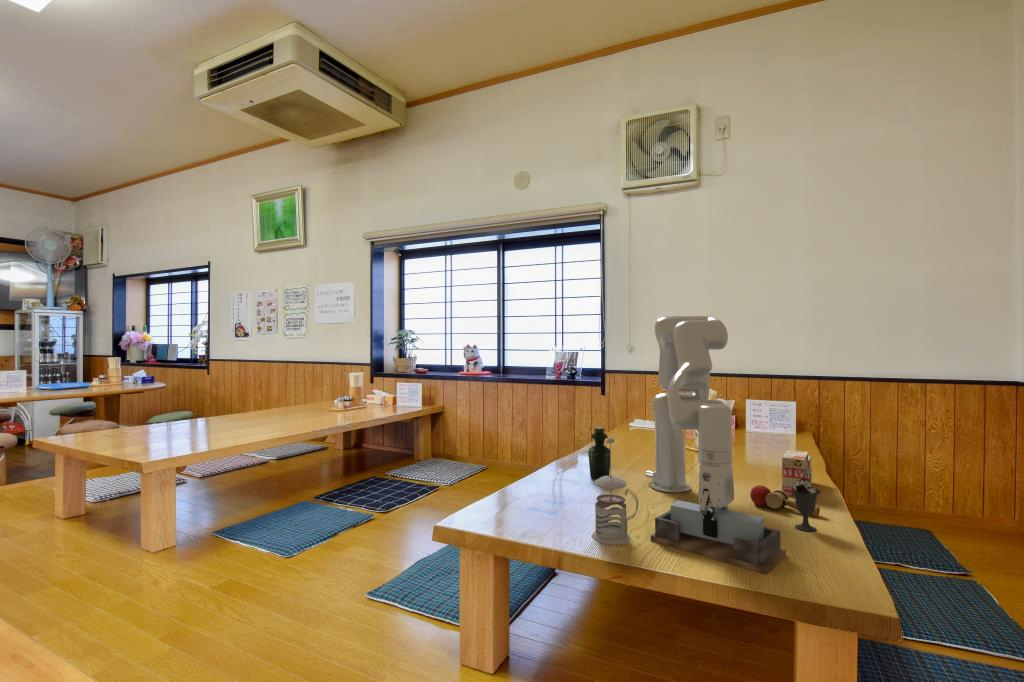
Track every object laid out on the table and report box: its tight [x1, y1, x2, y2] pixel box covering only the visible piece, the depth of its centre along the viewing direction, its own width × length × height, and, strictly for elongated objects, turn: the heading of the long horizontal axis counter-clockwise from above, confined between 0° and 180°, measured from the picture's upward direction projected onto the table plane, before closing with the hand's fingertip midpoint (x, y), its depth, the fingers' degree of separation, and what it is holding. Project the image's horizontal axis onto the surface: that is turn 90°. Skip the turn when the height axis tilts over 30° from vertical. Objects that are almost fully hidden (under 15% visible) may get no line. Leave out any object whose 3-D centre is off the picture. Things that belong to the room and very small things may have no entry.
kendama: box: [749, 484, 821, 518], centre depth 149 cm, size 8×6×18 cm
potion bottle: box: [587, 426, 610, 481], centre depth 184 cm, size 8×8×18 cm
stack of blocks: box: [781, 449, 813, 497], centre depth 169 cm, size 21×6×12 cm, turn 144°
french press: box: [591, 437, 639, 546], centre depth 129 cm, size 10×12×25 cm
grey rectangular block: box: [670, 500, 765, 544], centre depth 122 cm, size 20×5×6 cm, turn 51°
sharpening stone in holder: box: [650, 509, 787, 575], centre depth 122 cm, size 27×13×6 cm, turn 46°
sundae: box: [791, 470, 821, 533], centre depth 134 cm, size 7×7×15 cm
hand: (715, 531), depth 122 cm, fingers closed on grey rectangular block, 5 cm apart
